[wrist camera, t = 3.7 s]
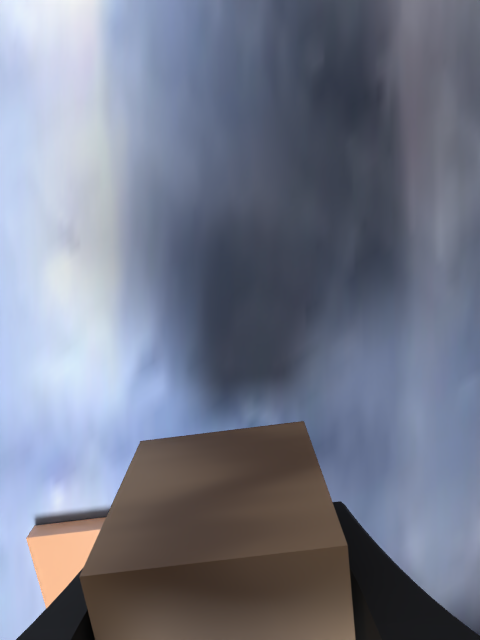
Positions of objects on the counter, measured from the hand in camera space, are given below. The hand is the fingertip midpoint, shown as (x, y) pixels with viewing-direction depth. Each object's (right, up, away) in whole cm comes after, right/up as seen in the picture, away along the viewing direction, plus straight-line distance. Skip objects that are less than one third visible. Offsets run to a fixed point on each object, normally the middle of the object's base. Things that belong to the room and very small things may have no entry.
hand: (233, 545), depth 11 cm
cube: (0, 0, +2) cm, 2 cm away
